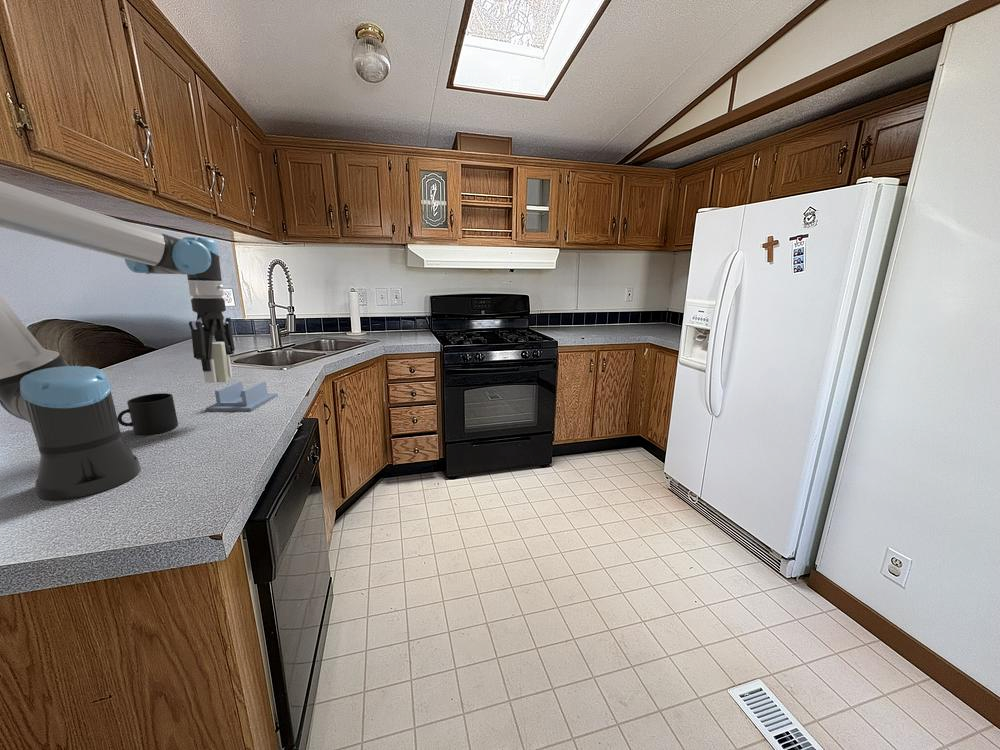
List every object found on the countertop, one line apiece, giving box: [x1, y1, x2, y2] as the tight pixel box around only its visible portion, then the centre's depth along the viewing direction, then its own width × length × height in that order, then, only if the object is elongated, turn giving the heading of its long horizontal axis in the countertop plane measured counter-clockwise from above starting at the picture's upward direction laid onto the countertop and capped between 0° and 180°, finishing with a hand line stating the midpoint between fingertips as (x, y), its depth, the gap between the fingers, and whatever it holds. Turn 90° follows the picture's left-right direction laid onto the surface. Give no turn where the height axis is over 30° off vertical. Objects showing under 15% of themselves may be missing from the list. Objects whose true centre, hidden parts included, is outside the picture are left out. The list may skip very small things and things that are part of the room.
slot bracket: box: [205, 380, 279, 412], centre depth 133 cm, size 16×14×6 cm
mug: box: [117, 392, 179, 436], centre depth 109 cm, size 9×12×9 cm
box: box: [211, 340, 230, 383], centre depth 114 cm, size 5×4×11 cm
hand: (219, 379), depth 115 cm, fingers closed on box, 6 cm apart
